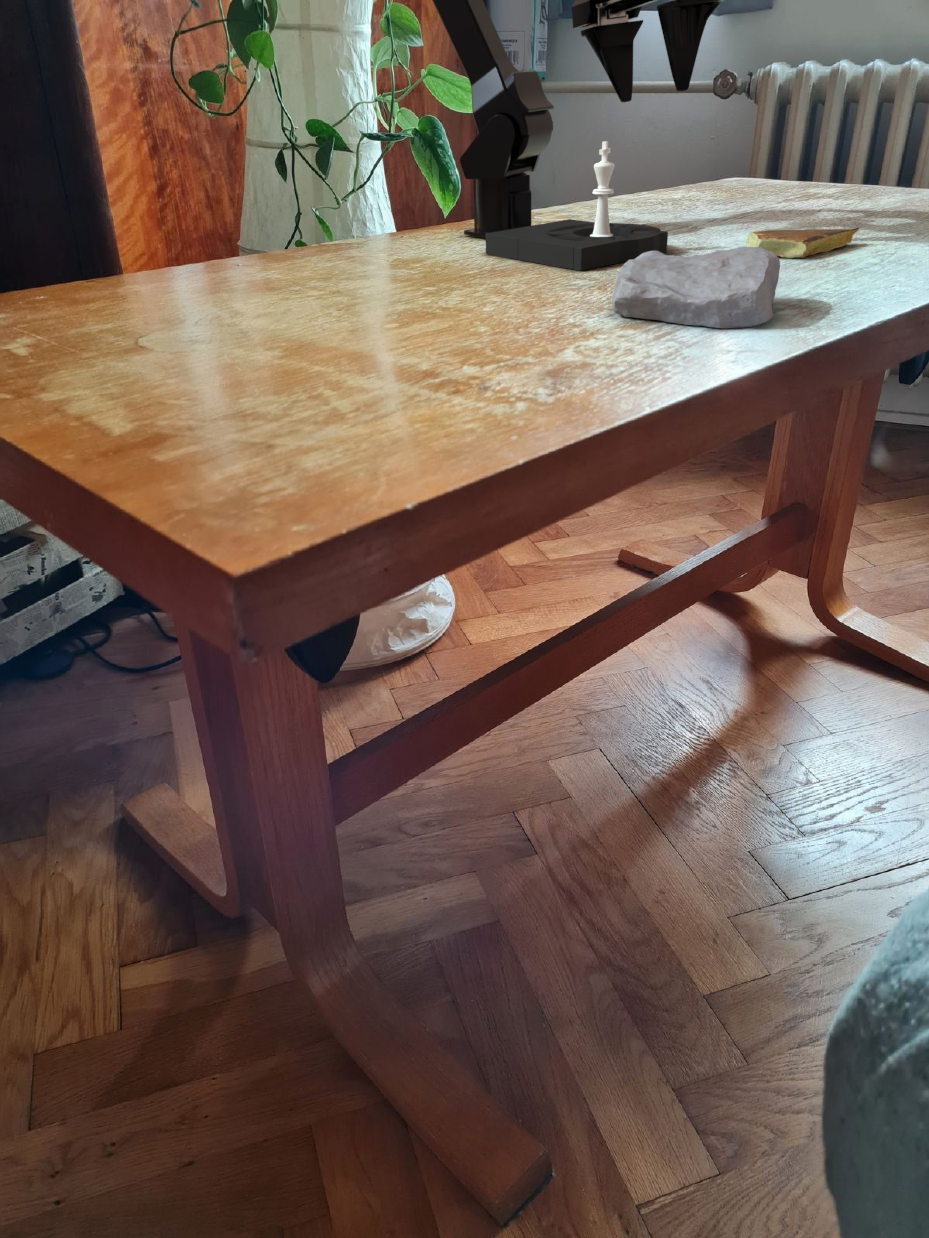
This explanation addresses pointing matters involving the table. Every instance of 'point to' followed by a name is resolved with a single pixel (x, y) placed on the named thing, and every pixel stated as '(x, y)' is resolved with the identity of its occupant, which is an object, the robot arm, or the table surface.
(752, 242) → the yellow brown flat wedge
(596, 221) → the chess piece
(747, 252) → the stone block
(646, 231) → the socket pad
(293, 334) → the table surface
